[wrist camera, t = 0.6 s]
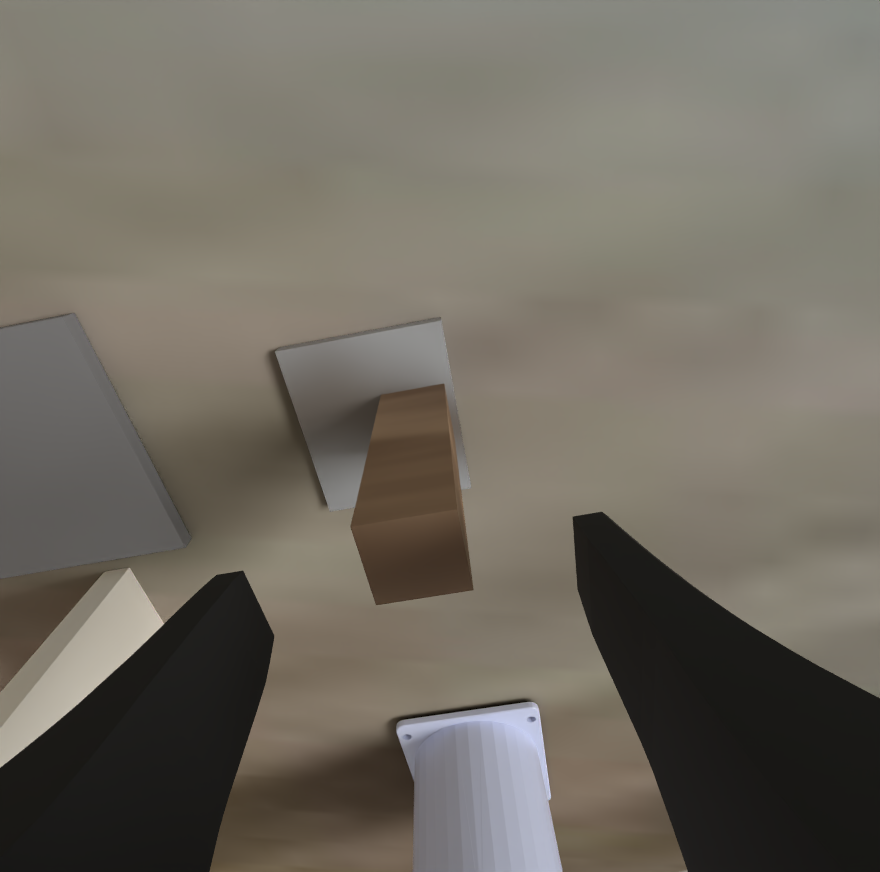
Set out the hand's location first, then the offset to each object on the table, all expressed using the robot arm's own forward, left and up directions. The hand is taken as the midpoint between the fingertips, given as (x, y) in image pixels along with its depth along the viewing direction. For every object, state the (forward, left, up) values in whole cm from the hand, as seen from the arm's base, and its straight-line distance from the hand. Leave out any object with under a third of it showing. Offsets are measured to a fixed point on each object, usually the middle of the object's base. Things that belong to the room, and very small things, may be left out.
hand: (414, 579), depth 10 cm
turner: (0, +1, -9) cm, 9 cm away
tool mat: (+1, +16, -9) cm, 18 cm away
